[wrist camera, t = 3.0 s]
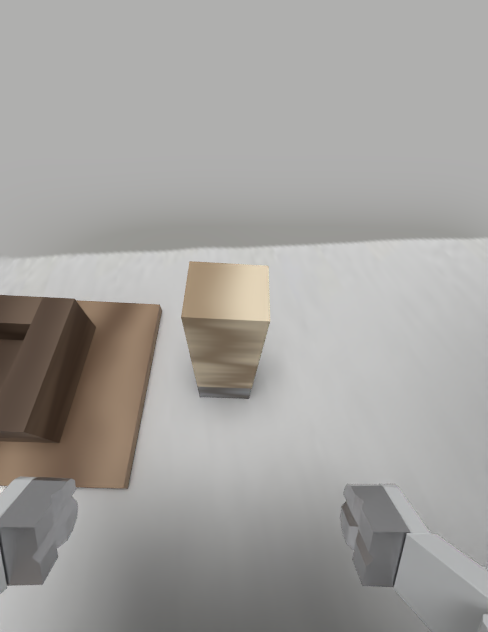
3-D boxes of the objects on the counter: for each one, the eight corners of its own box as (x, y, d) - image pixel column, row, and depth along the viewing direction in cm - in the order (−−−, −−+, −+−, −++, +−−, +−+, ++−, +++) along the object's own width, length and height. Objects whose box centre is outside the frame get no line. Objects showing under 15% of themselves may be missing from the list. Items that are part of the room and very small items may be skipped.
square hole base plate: (161, 310, 31) (149, 274, 26) (127, 488, 23) (99, 486, 17) (-58, 300, 30) (-116, 260, 25) (-178, 481, 22) (-302, 477, 16)
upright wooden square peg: (249, 361, 29) (268, 265, 17) (248, 398, 27) (270, 321, 15) (203, 359, 28) (189, 261, 16) (199, 396, 27) (181, 317, 15)
